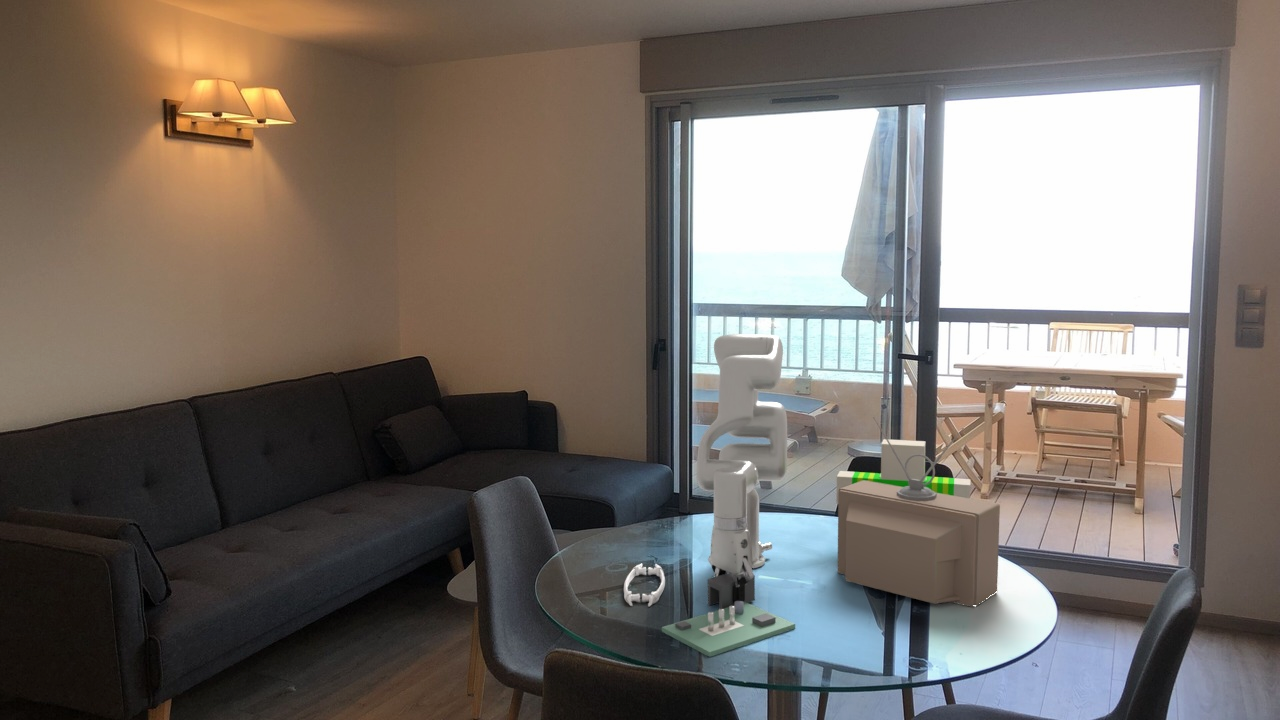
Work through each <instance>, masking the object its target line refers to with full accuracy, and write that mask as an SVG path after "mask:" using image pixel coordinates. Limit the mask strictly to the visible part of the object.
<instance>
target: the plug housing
mask: <svg viewBox="0 0 1280 720" xmlns="http://www.w3.org/2000/svg"><path fill="white" fill-rule="evenodd" d="M738 578H739V579H740V578H741V576H740V575H738ZM755 585H756V576H755V575H754V577H753V578H752V579H750V580H749V581H748V582H747V585H745V600H744V601H743V602H746V603H748V604H749V603H751V602H754V601H756V597H755V596H756V593H755V592H756V591H755V590H756V588H755V587H756V586H755ZM733 586H735V584H734V579H733V574H732V573H730V572H727V574H723V575H720V576H717V577H714V576H713V577H711V578H707V605H708V606H713V605H715V604H718V603H719V609H724V608H727V607H729V606H731V605H733V606H734V603H733ZM719 609H718V610H719Z"/></svg>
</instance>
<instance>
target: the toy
mask: <svg viewBox="0 0 1280 720" xmlns="http://www.w3.org/2000/svg"><path fill="white" fill-rule="evenodd" d="M887 439H888V438H887ZM888 441H889V442H890V444H891V445H892V447H893V448H894V450H895V451H896V453H897V455H898V456H899V458H900V460H901V462H902V463H903V465H904V467H905V463H906V461H907V459H908V458H909V457H910V456H911V455H914V454H922V455H925V456H926V441H924V440H908V439H907V440H905V439H888ZM880 451H881V453H880V454H881V456H880V457H881V458H880V459H881V460H880V473H878V472H866V471H865V472H863V471H862V472H860V471H849V470H848V471H847V470H840V471H839V472H838V474H837V475H836V499H835V500H836V501H835V502H836V504H837V505H838V493H839V489H840V488H843V487H846V486H849V485H851V484H854V483H857V482H860V481H863V480H866V481H871V482H877V483H883V484H889V485H894V486H900V487H905V486H909V484H908V481H909V479H908V478H907V476H906V474H905V472H904V470H903V468H902V466H901V465H900V463H899V461H898V460H897V458H896V456H895V454H894V453H893V451H892V448H891V447H890V445H889V443H888V442H887V440H886V438H884V439H883V440H882V442H881V449H880ZM907 472H908V474H909V475H910V477H911V479H918V480H921V478H922V477H923V476H924V475H925V473H926V458H924V457H921V456H915V457H912V458H911V459H910V460H909V461H908V463H907ZM931 478H932V476H928V475H927V476H926V477H925V479H924V480H923V481H922V482H923V483H924V484H925V483H927V482H928V481H930V479H931ZM971 483H972V482H971V478H969V479H968V478H958V477H942V476H940V477H939V476H934V479H933V480H932V482H931V483H929V484H928V485H925V486H924V487H928V488H929V489H931V490H932V491H934V492H935V493H940V494H946V495H952V496H958V497H963V498H969V499H971V486H972V485H971Z"/></svg>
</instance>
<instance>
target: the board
mask: <svg viewBox="0 0 1280 720" xmlns="http://www.w3.org/2000/svg"><path fill="white" fill-rule="evenodd" d="M734 606H735V625H730V624H729V607H727V608H724V628H719V609H718V610H715V611H712V612H713V613H714V631H713V632H709V631H708V612H707V613H705V614H700V615H698V616H695V617H690V618H689V619H688V618H687V619H684V620H682V621H677V622H675V623H672V624H671V623H670V624H667V625H665V626H662V627H661V632H662V633H664V634H665V635H667V636H670V637H672V638H673V639H674V640H677V641H678V642H681V643H682V644H685V645H687V646H688V647H690V648H692V649H694V650H695V651H698V652H699V653H702V654H703V655H705V656H708V657H709V658H710V657H714V656H716V655H720V654H722V653H725V652H729V651H732V650H734V649H737V648H740V647H744V646H746V645H749V644H752V643H755V642H758V641H759V642H760V641H762V640H764V639H767V638H771V637H774V636H776V635H779V634H783V633H786V632H789V631H791V630H795V629H796V623H794V622H793V621H789V620H788V619H785V618H783V617H781V616H778V615H776V614H774V613H771V612H769V611H767V610H764V609H762V608H761V607H757V606H755V605H753V604H750V603H749V602H748V603H746V602H742V601H735V602H734Z"/></svg>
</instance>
